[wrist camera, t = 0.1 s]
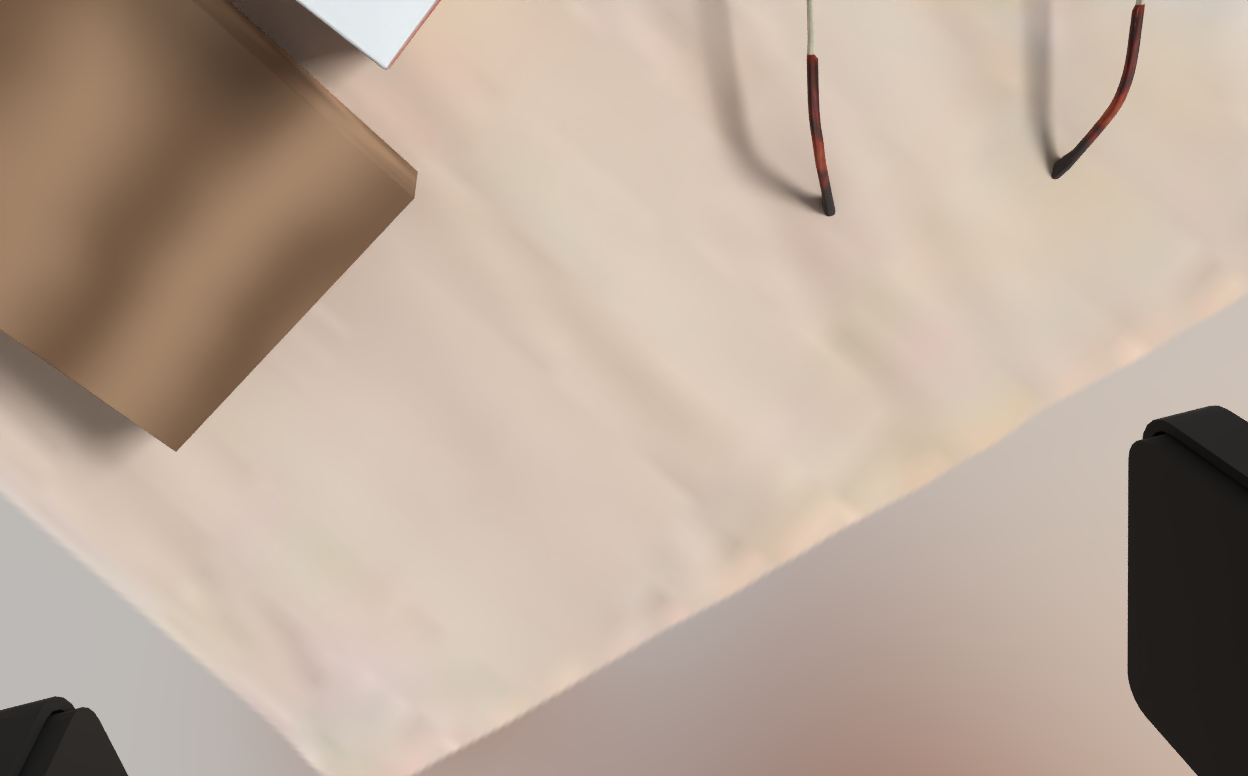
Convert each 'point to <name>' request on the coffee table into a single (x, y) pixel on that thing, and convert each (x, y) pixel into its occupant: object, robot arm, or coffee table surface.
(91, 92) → the walnut block
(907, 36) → the coffee table surface
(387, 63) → the small box
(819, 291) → the coffee table surface
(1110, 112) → the sunglasses
